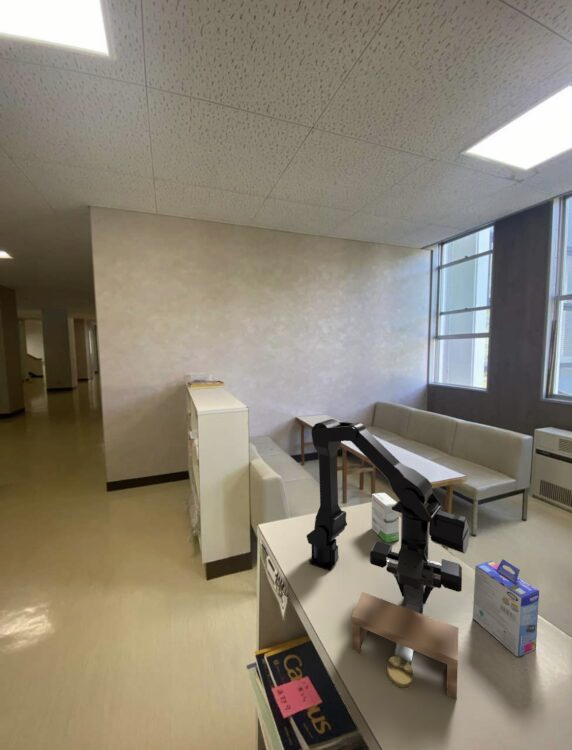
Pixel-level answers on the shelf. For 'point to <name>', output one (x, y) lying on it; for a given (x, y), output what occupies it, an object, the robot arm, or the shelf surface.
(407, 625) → the walnut shelf
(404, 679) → the gold round piece
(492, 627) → the ink cartridge box
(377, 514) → the ink box
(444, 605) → the shelf surface
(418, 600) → the grey bar
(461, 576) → the robot arm
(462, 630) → the shelf surface
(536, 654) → the shelf surface
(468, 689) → the shelf surface
